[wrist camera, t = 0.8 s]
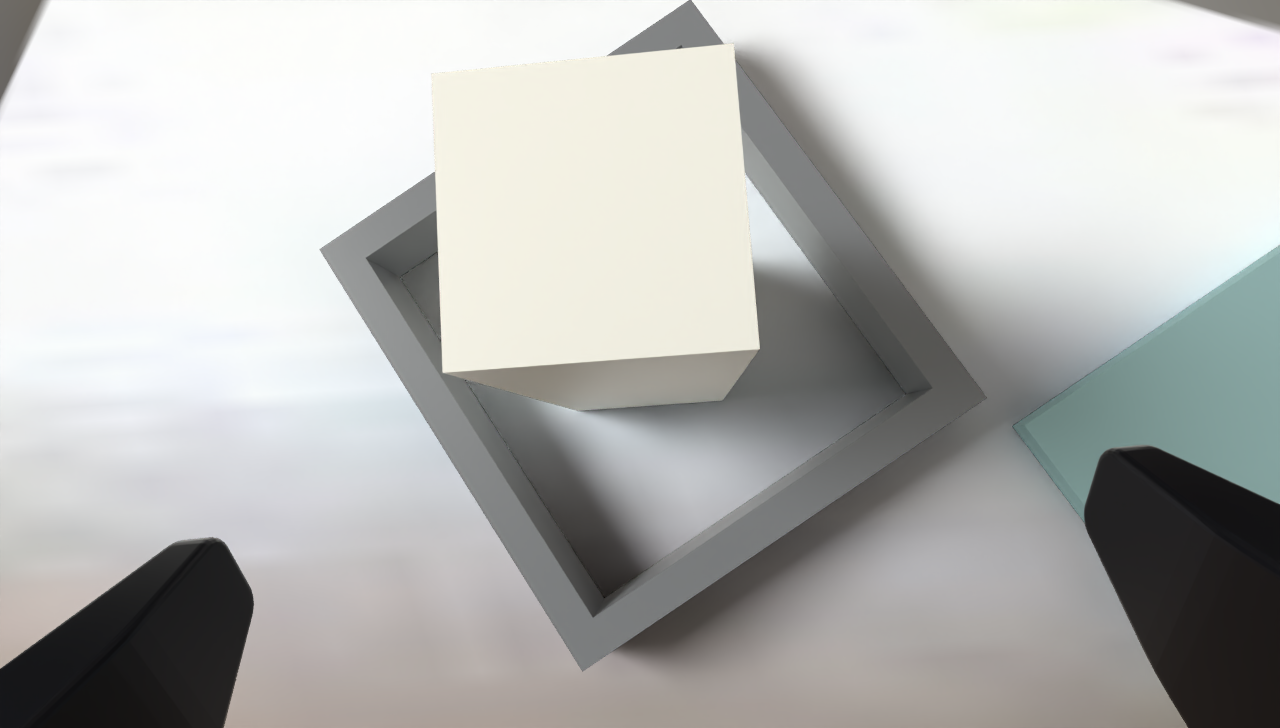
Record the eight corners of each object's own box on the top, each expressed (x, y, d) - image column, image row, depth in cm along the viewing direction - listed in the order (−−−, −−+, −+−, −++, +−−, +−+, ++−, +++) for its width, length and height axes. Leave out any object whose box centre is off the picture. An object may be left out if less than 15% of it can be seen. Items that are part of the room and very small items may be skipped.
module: (722, 400, 23) (759, 349, 10) (577, 410, 23) (442, 372, 11) (711, 257, 23) (733, 43, 11) (569, 269, 23) (431, 74, 11)
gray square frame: (953, 402, 22) (987, 397, 20) (594, 646, 22) (582, 671, 20) (690, 45, 24) (690, -2, 21) (358, 269, 24) (319, 249, 21)
